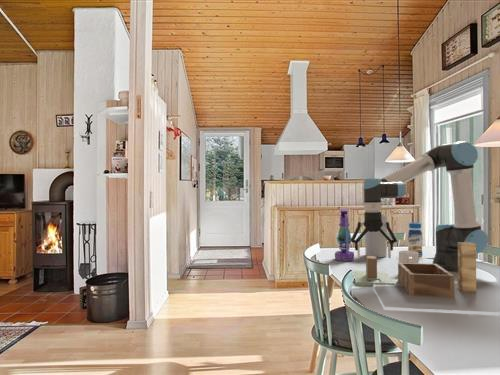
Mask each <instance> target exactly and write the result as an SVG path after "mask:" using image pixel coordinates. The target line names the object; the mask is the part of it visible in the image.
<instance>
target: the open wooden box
mask: <svg viewBox="0 0 500 375" xmlns="http://www.w3.org/2000/svg"><path fill="white" fill-rule="evenodd" d="M397 266H398V267H397V277H398V278H397V281H398V282H399V284H401V286H402V287H403V289H404V290H405V291H406V292H407V293H408V295H409V296H424V297H444V298H445V297H447V298H448V297H449V298H453V297H454V298H455V275H454V274H452V273H450V272H449V271H448V270H445V269H443V268H442V267H440V266H439V265H437V264H432V263H422V262H421V263H420V262H419V263H399V262H398V263H397Z"/></svg>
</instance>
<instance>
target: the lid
mask: <svg viewBox="0 0 500 375" xmlns="http://www.w3.org/2000/svg"><path fill="white" fill-rule="evenodd" d="M352 271H353V273H354V277H355V281H354V283H355V286H361V287H374V285H389V286H390V285H391V286H393V285H394V286H395V282H394V281H393V279H392V278H391V277H390V276H389V275H388V273H387V271H378V257H375V256H366V255H365V270H362V271H361V270H352Z"/></svg>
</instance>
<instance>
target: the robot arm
mask: <svg viewBox="0 0 500 375" xmlns="http://www.w3.org/2000/svg"><path fill="white" fill-rule="evenodd" d="M478 158H479V152H478V149H477V148H476V146H475V145H474V144H472V143H471V142H469V141H455V142H449V143H448V142H447V143H443V144H442V143H441V144H439V145H437V146H435V147H433V148H431V149H429V150H428V151H426V152H425V153H423V154H420V157H419V158H416V159H415V160H413V161H412V162H410V163H408V164H406V165H404V166H403V167H401V168H399V169H397V170H394V171H393V172H391V173H390V174H388V175H385V177H382V178H379V177H373V178H372V177H371V178H365V179H364V180H363V188H362V189H363V211H364V217H363V218H364V221H363V222H360V221H357V225H356V228H355V230H354V232H353V233H352V236H351V242H350V243H353V244H354V251H356V252H357V259H360V258H361V255H360V254H361V253H360V252H361V250H360V248H361V247H360V242H361V241H362V239H363V238H364V237H365V234H366V233H367V232H368V231H369V232H373V231H374V232H378V231H380V232H381V234H382V235H383V236H384V237H385V238H386V239H387V242H388V243H387V258H388V259H391V256H392V252H391V251H394V243H397V242H398V240H397V238H396V236H395V234H394V232H393V231H392V229H391V227H390V223H389V221H387V222H383V223H382V216H381V215H382V199H398V198H400V199H401V198H403V197H404V196H406V193H407V190H406V189H407V187H406V185H405V184H406V183H408V182H410V181H412V180H413V179H415V178H417V177H419V176H421V175H423V174H425V173H426V172H432V171H435V170H436V169H439V168H440V169H441V168H445V169H446V172H447V173H448V174H449V175H450V181H451V191H452V198H453V205H454V206H453V207H454V214H455V223H450V224H449V223H448V224H446V223H445V224H437V225H436V226H435V254H434V257H433V259H432V263H431V264H437V265H439V266H440V267H442V268H443V269H445V270H446V271H448V272H449V271H451V272H458V242H465V243H473V244H476V255H477V254H480V253H483V252H484V251H485V249H486V248H487V246H488V244H489V236H488V234H487V233H486V231H484V230H482V226H481V223H480V222H478V220H477V215H476V214H477V213H476V206H475V205H476V204H475V198H474V190H473V181H472V174H471V172H472V170H474V169H475V168H474V167H475V166H474V164H475V163H477V160H478ZM383 225H384V226H385V227H386V228H387V232H388V233H389V236H390V237H391V238H390V237H389V236H388V235H386V234H385V233H384V232H383V230H382V229H381V227H382V226H383ZM363 226H364V229H363V231H362V232H361V233H360V234H359V231H360V229H361V228H362V227H363ZM357 236H358V237H357Z"/></svg>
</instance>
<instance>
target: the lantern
mask: <svg viewBox="0 0 500 375" xmlns="http://www.w3.org/2000/svg"><path fill="white" fill-rule="evenodd" d="M339 212H340V217H339V224H338V225H339V228H338V233H337V238H336V241H337V243H338V245H339V250H337V251H335V253H334V259H335V260H336V261H339V262H352V261H354V259H355V252H354V251H351V249H350V244H351V243H352V242H351V238H352V236H351V231H350V228H349V227H350V223H349V217H348V212H349V209H347V208H346V209H345V208H343V209H340V210H339Z"/></svg>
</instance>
